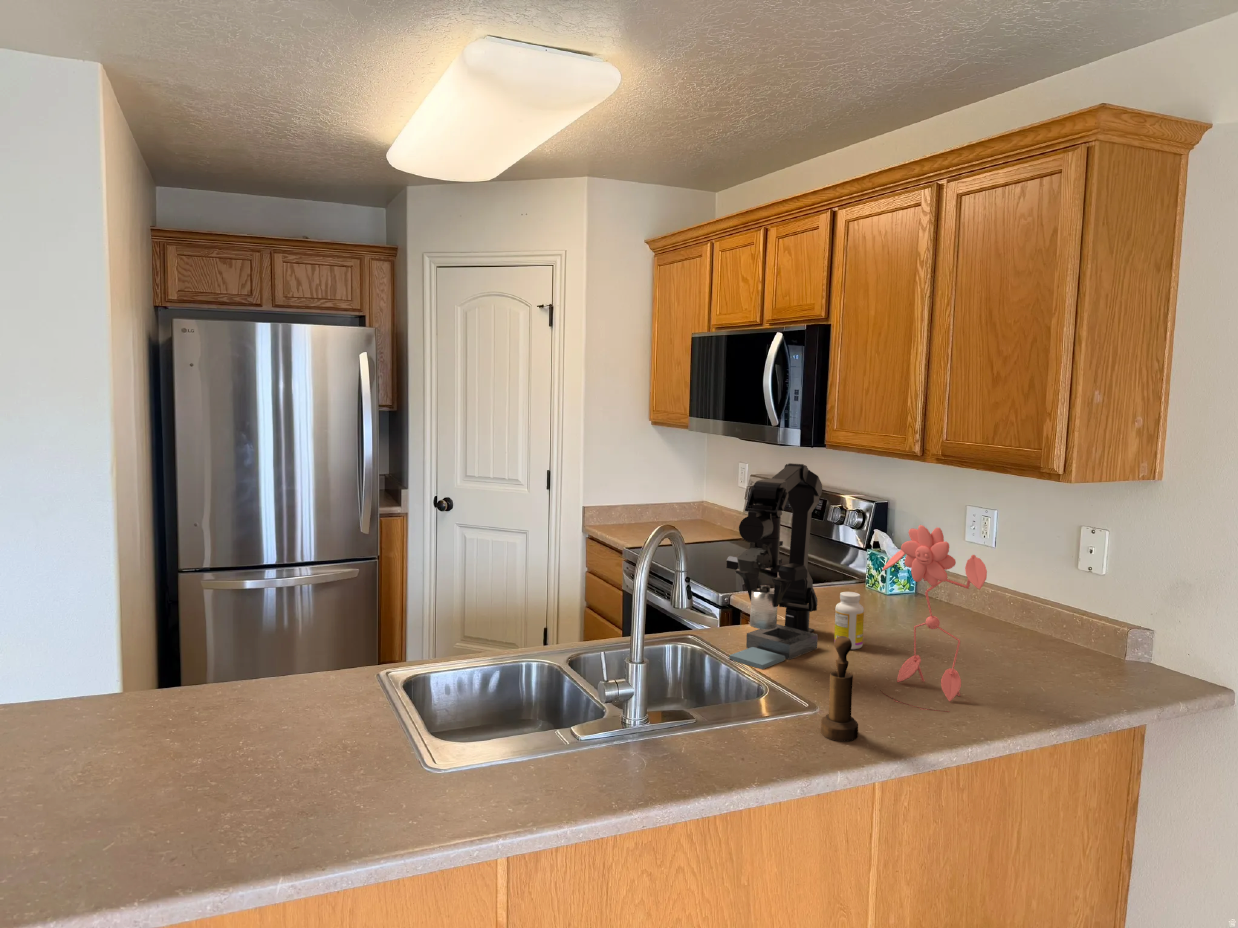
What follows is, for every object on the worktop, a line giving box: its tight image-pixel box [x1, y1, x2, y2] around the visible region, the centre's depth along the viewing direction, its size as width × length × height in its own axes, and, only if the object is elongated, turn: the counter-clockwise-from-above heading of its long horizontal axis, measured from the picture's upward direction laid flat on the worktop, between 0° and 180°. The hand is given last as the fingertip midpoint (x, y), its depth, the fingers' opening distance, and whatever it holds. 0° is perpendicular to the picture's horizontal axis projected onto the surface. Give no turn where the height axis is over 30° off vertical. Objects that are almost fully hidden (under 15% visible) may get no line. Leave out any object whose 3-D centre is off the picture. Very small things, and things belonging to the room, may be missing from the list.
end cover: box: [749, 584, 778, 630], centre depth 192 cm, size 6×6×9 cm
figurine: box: [880, 524, 988, 713], centre depth 170 cm, size 15×26×35 cm, turn 30°
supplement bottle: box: [833, 591, 865, 650], centre depth 202 cm, size 7×7×13 cm
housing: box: [745, 623, 819, 660], centre depth 200 cm, size 12×12×4 cm
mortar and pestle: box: [820, 636, 859, 742], centre depth 151 cm, size 7×6×18 cm
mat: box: [728, 647, 786, 670], centre depth 191 cm, size 9×9×1 cm
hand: (764, 604), depth 192 cm, fingers closed on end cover, 6 cm apart
